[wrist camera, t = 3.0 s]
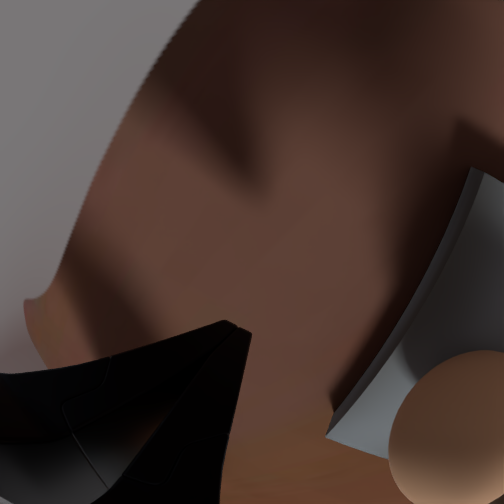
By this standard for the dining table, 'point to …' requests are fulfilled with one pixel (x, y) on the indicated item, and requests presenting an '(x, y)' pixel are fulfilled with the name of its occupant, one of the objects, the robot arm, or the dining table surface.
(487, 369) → the ball
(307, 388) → the dining table surface
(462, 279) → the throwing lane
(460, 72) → the dining table surface
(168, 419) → the robot arm
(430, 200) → the dining table surface
